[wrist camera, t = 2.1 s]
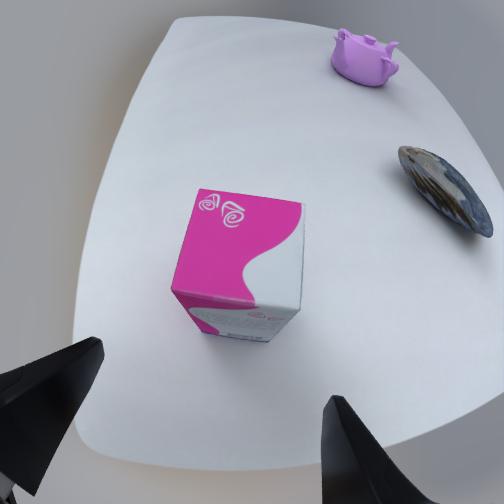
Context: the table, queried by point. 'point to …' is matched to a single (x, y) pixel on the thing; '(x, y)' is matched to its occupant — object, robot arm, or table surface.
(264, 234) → the supplement box
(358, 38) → the teapot
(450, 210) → the seashell
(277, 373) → the table surface
